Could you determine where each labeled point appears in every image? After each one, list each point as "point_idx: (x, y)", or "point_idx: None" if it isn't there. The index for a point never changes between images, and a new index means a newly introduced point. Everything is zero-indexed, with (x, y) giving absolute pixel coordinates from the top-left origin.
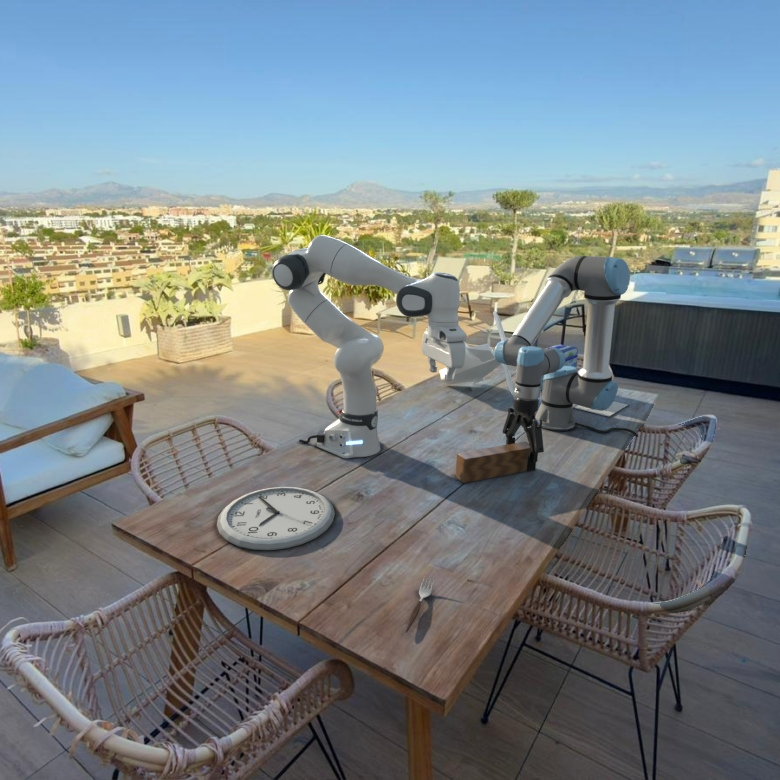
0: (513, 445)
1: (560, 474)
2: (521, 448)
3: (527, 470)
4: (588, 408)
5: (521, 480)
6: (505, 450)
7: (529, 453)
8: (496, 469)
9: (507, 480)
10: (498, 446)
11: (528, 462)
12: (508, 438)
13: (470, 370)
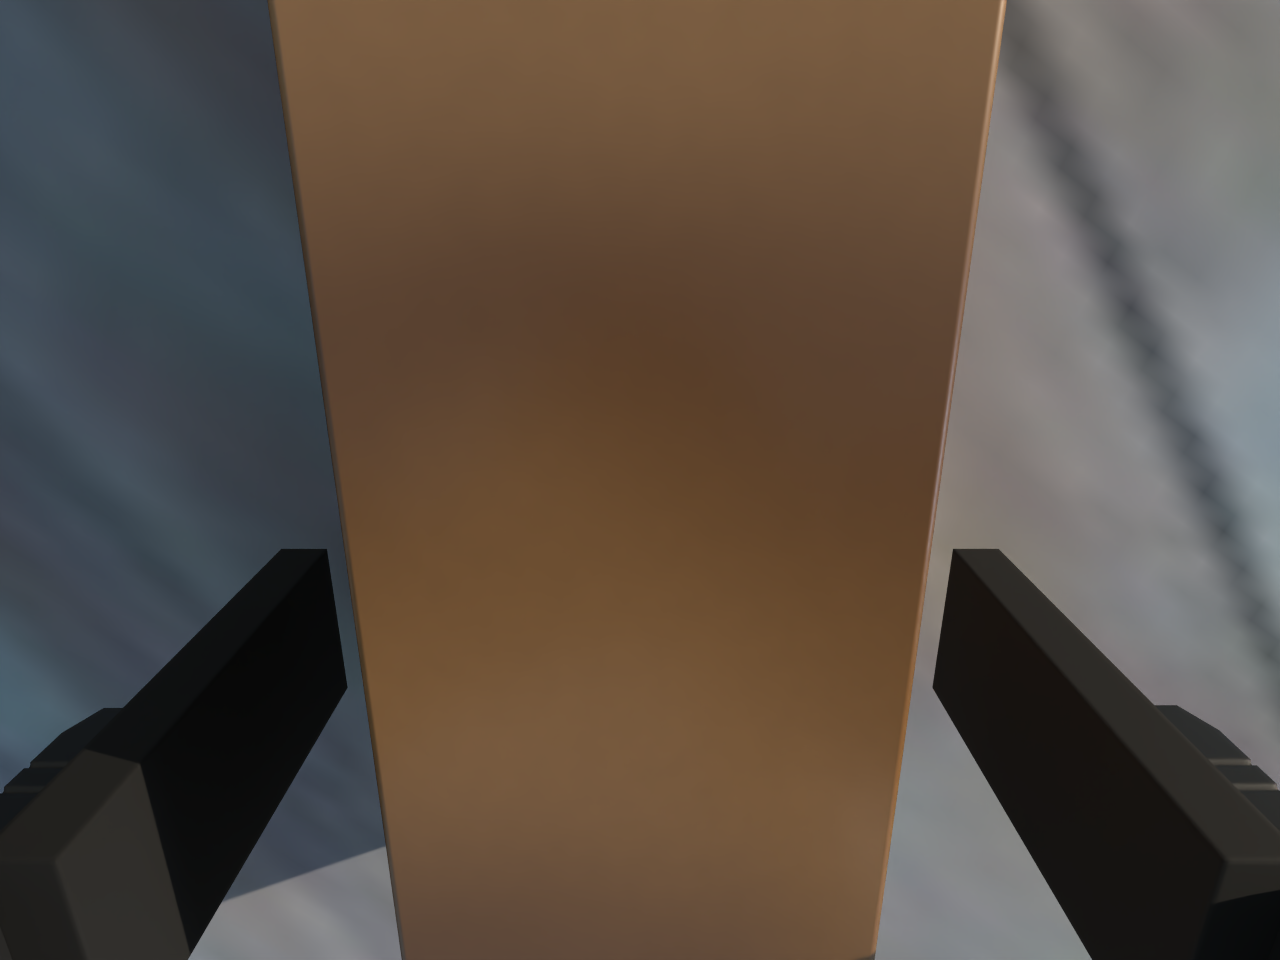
0: (754, 738)
1: (283, 938)
2: (445, 822)
3: (291, 556)
4: None
5: (223, 337)
6: (449, 174)
7: (28, 822)
8: None
9: (277, 78)
10: (950, 138)
11: (205, 649)
12: (1269, 890)
13: None
